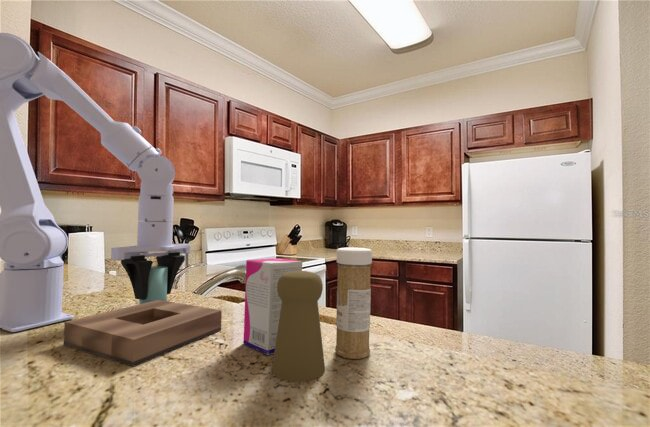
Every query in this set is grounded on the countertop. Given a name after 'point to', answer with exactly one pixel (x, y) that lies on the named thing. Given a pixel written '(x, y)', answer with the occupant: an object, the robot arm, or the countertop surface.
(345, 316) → the sprinkles bottle
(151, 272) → the peg
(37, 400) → the countertop surface
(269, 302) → the supplement box
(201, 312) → the socket block
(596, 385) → the countertop surface
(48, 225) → the robot arm
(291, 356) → the brown tall rounded piece
